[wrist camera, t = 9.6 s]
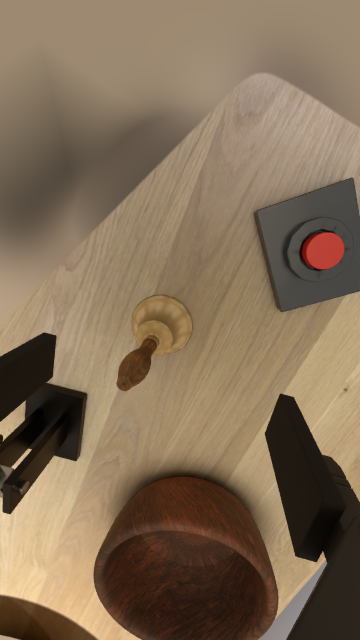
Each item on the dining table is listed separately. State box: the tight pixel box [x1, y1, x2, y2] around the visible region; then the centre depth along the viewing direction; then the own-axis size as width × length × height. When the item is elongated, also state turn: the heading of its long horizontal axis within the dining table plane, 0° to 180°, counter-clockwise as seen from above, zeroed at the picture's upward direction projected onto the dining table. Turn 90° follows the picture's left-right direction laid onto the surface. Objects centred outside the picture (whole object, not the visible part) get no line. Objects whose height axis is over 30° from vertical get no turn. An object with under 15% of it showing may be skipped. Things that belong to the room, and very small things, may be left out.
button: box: [302, 232, 344, 269], centre depth 29 cm, size 4×4×2 cm
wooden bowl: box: [94, 477, 278, 640], centre depth 42 cm, size 25×25×10 cm
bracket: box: [0, 383, 87, 514], centre depth 38 cm, size 12×9×14 cm
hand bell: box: [117, 295, 192, 391], centre depth 30 cm, size 8×8×16 cm
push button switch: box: [254, 178, 360, 312], centre depth 31 cm, size 12×10×4 cm
